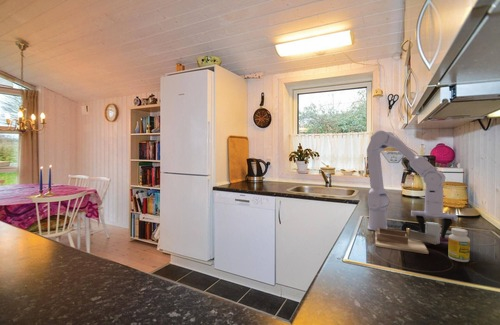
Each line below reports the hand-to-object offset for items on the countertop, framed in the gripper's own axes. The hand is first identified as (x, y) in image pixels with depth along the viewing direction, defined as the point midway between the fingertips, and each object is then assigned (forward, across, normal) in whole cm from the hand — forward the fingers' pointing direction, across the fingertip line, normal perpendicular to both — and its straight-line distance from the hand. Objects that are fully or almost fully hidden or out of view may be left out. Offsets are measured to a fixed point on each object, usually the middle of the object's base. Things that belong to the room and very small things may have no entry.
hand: (432, 236), depth 98 cm
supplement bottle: (+2, +4, -17) cm, 18 cm away
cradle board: (+2, -12, -8) cm, 15 cm away
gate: (+1, -5, -6) cm, 7 cm away
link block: (+2, 0, 0) cm, 2 cm away
